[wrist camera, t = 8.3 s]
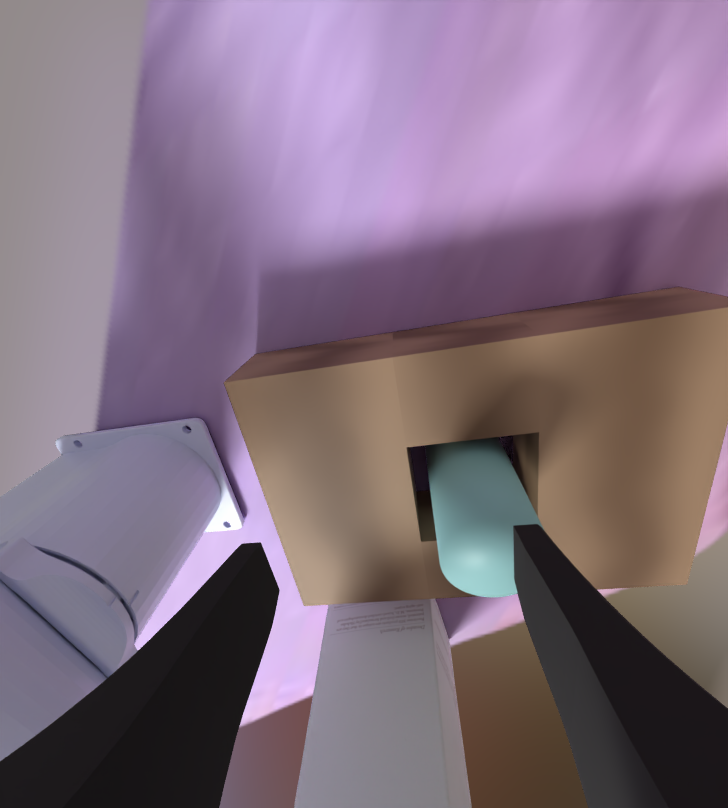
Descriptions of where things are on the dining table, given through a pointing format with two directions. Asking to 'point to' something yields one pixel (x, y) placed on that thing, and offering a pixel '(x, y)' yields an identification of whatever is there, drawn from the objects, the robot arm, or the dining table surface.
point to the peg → (477, 514)
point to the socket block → (495, 417)
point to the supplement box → (384, 712)
